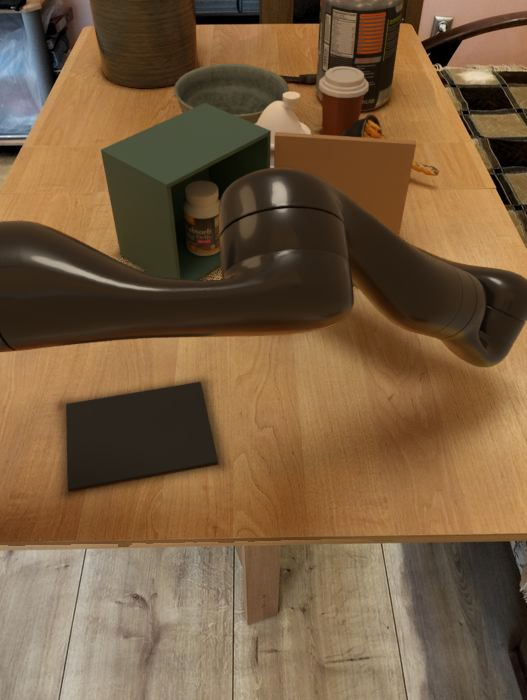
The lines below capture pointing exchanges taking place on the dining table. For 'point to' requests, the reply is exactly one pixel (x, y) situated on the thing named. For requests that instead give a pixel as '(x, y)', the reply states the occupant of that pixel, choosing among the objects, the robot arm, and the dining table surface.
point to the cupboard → (176, 183)
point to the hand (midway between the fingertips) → (261, 204)
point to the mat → (137, 436)
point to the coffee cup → (341, 99)
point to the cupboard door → (354, 168)
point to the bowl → (231, 89)
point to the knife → (303, 78)
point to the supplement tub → (360, 43)
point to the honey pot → (282, 119)
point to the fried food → (372, 129)
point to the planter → (145, 40)
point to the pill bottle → (201, 218)
